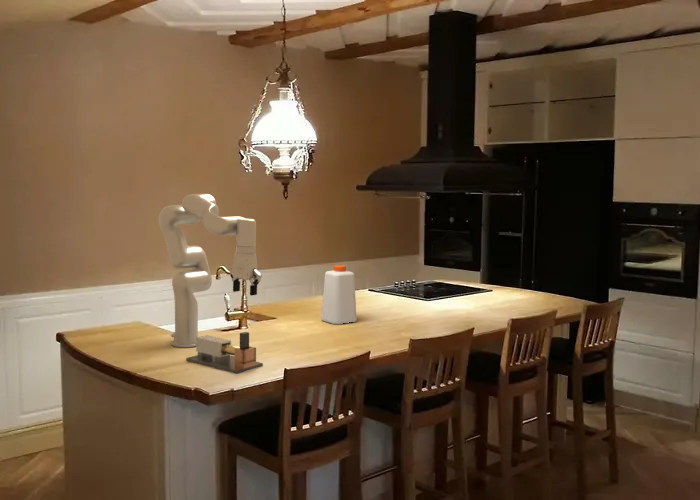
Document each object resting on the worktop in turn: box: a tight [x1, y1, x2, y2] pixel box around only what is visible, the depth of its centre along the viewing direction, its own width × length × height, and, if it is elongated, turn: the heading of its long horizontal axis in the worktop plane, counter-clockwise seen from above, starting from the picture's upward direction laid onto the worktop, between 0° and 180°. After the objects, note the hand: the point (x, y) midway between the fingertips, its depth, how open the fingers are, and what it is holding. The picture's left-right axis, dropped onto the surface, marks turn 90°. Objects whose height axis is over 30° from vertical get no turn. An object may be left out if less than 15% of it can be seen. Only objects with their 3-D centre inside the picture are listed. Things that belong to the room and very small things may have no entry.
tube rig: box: [185, 334, 264, 375], centre depth 285 cm, size 28×14×9 cm, turn 53°
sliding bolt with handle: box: [222, 331, 250, 356], centre depth 282 cm, size 17×4×10 cm, turn 53°
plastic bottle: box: [321, 264, 357, 325], centre depth 367 cm, size 15×15×28 cm
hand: (244, 293), depth 290 cm, fingers open, 9 cm apart
